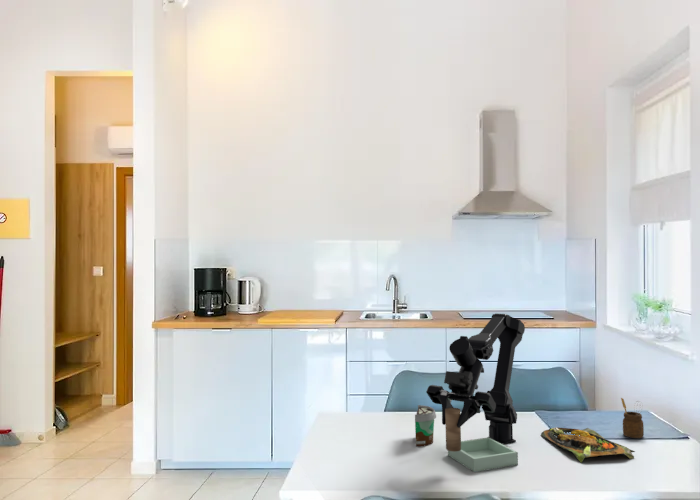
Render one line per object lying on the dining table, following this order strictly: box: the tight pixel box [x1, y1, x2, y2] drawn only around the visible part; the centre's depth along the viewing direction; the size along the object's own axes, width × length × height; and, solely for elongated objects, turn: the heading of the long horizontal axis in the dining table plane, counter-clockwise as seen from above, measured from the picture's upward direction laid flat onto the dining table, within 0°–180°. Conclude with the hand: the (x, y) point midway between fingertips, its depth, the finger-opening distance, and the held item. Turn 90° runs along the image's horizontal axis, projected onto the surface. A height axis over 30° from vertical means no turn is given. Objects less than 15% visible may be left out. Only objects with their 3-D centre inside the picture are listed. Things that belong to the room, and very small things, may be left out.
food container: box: [414, 404, 437, 448], centre depth 174 cm, size 12×6×10 cm, turn 168°
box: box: [447, 436, 519, 473], centre depth 157 cm, size 14×14×4 cm
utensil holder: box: [620, 397, 645, 439], centre depth 176 cm, size 6×6×12 cm
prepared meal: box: [540, 427, 636, 464], centre depth 168 cm, size 28×4×18 cm
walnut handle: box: [444, 407, 462, 452], centre depth 149 cm, size 4×4×10 cm
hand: (450, 425), depth 147 cm, fingers closed on walnut handle, 4 cm apart
